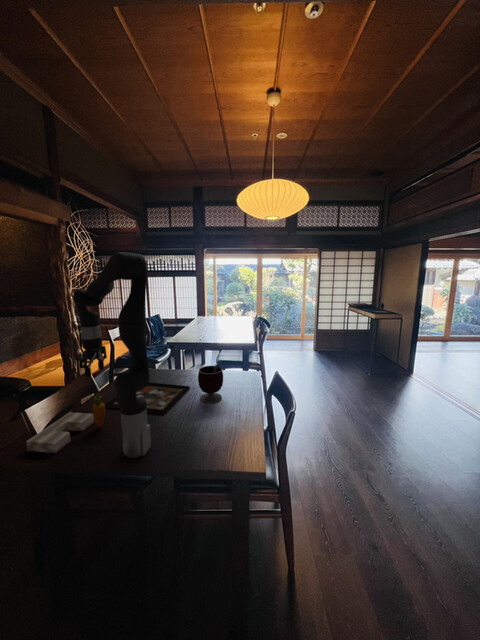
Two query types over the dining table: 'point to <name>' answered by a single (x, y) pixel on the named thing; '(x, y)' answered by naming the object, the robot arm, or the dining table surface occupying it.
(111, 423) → the dining table surface
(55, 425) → the notched board
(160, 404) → the framed painting
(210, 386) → the mate gourd
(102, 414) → the carrot
